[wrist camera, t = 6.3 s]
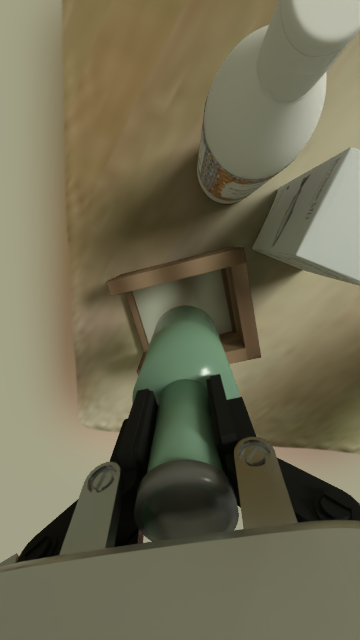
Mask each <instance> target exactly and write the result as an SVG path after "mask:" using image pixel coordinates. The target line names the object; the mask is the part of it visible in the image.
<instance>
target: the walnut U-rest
mask: <svg viewBox="0 0 360 640" xmlns="http://www.w3.org/2000/svg"><path fill="white" fill-rule="evenodd" d="M107 285H108V288H109V291H110V294H111V296H113V295H117V294H121V293H125V294H126V297H127V300H128V303H129V306H130V310H131V313H132V316H133V319H134V322H135V325H136V328H137V331H138V334H139V338H140V341H141V344H142V347H143V350H144V353H143V356H142V359H141V361H140V364H139V366H138V369H137V373H138V376H139V373H140V370H141V367H142V364H143V361H144V359H145V356H146V353H147V350H148V347H149V344H150V342H151V339H152V336H153V333H154V330H155V327H156V325H157V322H158V320H159V319H160V317H161V316H162V315H163V314H164V313H165V312H167V311H168V310H170V309H172V308H174V307H177V306H183V305H188V306H194V307H197V308H200V309H202V310H203V311H205V312H206V313H207V314H208V315H209V316H210V317H211V318H212V320H213V321H214V324H215V326H216V329H217V332H218V334H219V337H220V340H221V343H222V346H223V348H224V351H225V354H226V357H227V359H228V362H229V364H231V363H236V362H241V361H246V360H250V359H255V358H260V357H261V353H260V347H259V341H258V334H257V328H256V322H255V316H254V309H253V303H252V297H251V291H250V284H249V278H248V272H247V266H246V259H245V253H244V247H234V246H232V247H228V248H224V249H220V250H216V251H212V252H208V253H204V254H200V255H196V256H192V257H188V258H184V259H180V260H176V261H172V262H168V263H165V264H161V265H157V266H153V267H149V268H145V269H141V270H137V271H133V272H129V273H125V274H121V275H119V276H117V277H115V278H113V279H111V280H109V281H107Z"/></svg>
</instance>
